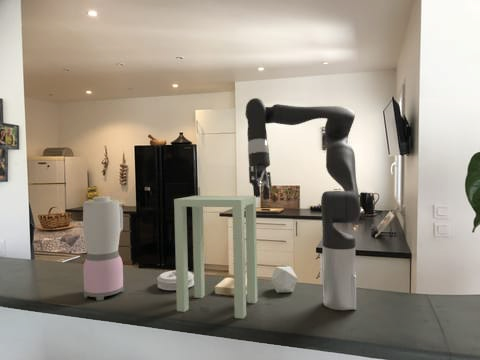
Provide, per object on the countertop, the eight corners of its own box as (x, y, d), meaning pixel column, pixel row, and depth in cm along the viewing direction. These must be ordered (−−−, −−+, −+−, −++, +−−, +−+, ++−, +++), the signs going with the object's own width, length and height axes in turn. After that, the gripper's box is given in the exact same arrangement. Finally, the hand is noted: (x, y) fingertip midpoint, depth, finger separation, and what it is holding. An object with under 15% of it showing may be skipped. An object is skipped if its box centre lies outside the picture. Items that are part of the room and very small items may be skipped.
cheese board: (261, 278, 135) (261, 271, 135) (244, 296, 116) (244, 289, 116) (235, 276, 138) (235, 269, 138) (215, 294, 119) (215, 286, 119)
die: (290, 299, 114) (304, 272, 117) (266, 284, 116) (280, 258, 118) (287, 299, 122) (300, 274, 125) (264, 286, 123) (278, 261, 126)
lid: (199, 289, 124) (198, 274, 124) (161, 295, 119) (161, 280, 119) (188, 279, 136) (188, 266, 136) (154, 284, 131) (153, 270, 130)
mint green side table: (257, 300, 112) (255, 195, 111) (243, 318, 99) (241, 199, 98) (197, 294, 118) (195, 195, 117) (176, 310, 105) (174, 199, 104)
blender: (103, 303, 112) (100, 198, 111) (74, 298, 117) (71, 198, 116) (138, 287, 127) (135, 195, 126) (111, 283, 132) (108, 194, 131)
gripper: (257, 159, 140) (260, 201, 137) (240, 151, 127) (243, 197, 124) (275, 156, 137) (279, 199, 133) (260, 147, 124) (264, 194, 121)
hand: (262, 198), depth 129 cm, fingers open, 8 cm apart
